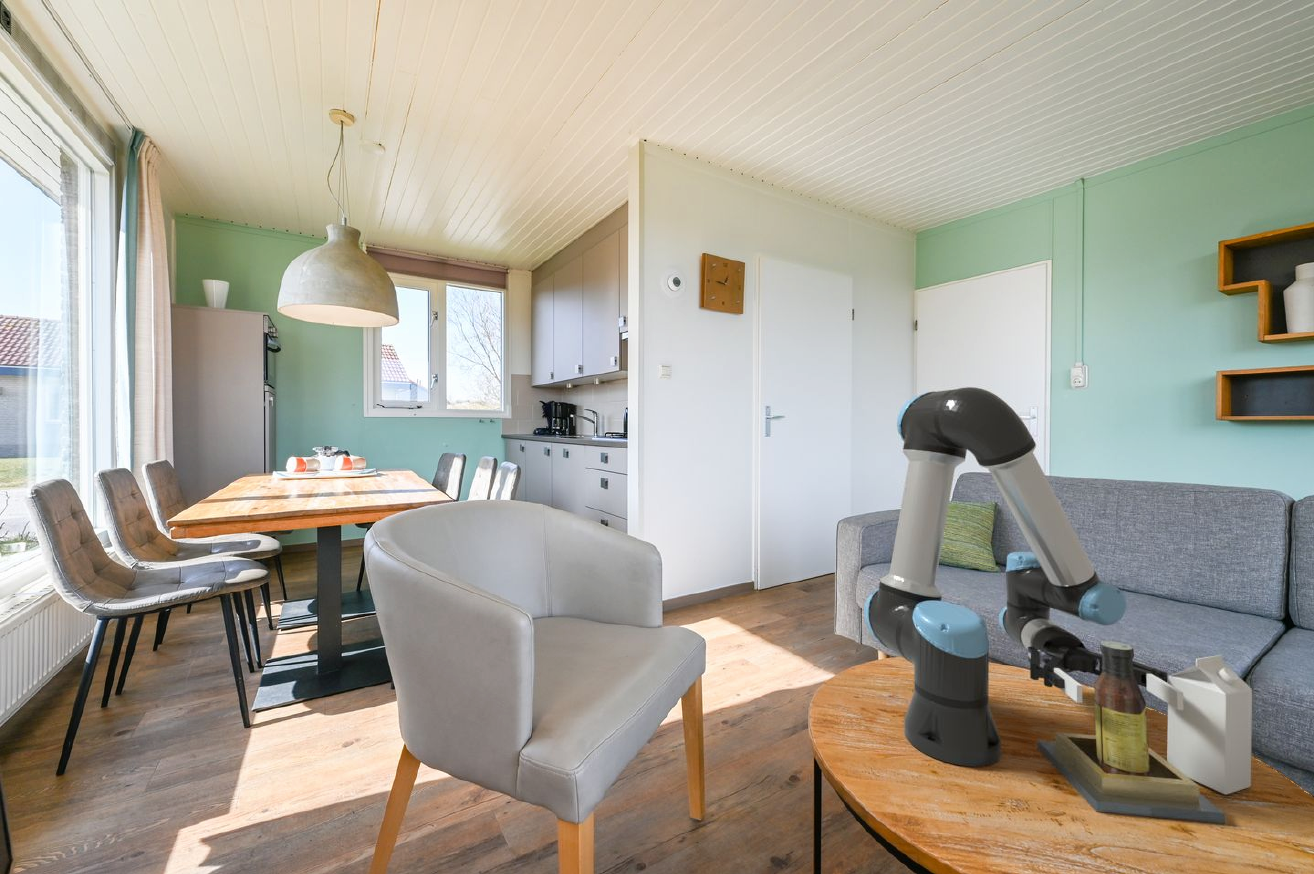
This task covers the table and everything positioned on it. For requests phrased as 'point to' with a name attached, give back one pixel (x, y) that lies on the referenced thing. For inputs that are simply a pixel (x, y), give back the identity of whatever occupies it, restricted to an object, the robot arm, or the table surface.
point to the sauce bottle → (1120, 714)
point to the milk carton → (1211, 726)
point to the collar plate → (1128, 783)
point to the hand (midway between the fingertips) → (1129, 697)
